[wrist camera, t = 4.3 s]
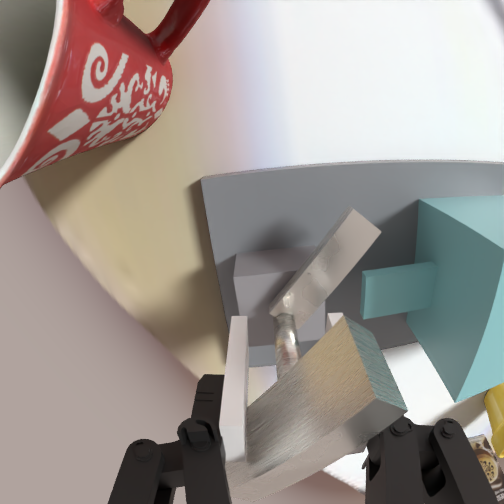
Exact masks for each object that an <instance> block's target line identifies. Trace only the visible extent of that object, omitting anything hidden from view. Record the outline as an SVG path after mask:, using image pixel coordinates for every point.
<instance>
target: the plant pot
mask: <svg viewBox="0 0 504 504" xmlns="http://www.w3.org/2000/svg"><path fill="white" fill-rule="evenodd" d="M484 403H485V407H486V410H487V413H488V417H489V421H490V424H491V429H492V433H493V436H492V438H491V442H492V445H493V447H494V450H495V452H496V454H497V456H498V457H499V458H504V382H503V383H501V384H499V385H497V386H495V387H493V388H490V389H489V391H488V392H487V394H486V396H485V398H484Z"/></svg>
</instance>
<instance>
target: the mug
mask: <svg viewBox="0 0 504 504" xmlns="http://www.w3.org/2000/svg"><path fill="white" fill-rule="evenodd" d="M209 1H210V0H174V2H173V4H172V6H171V7H170V9H169V11H168V13H167V14H166V16H165V17H164V19H163V20H162V22H161V23H160V24H159V26H158V27H157V28H156V29H155V30H154V31H152V32H151V33H149V34H145V33H143V32H142V31H141V30H140V29H139V28H138V27H137V26H136V25H135V24H133V23H132V22H131V21H130V20H129V19H128V18H126V17H125V16H124V15H123V13H124V6H123V0H0V188H1V187H2V186H3V185H4V184H6V183H8V182H10V181H13V180H15V179H17V178H19V177H22V176H24V175H26V174H29V173H32V172H34V171H36V170H38V169H41V168H43V167H45V166H48V165H51V164H53V163H55V162H58V161H60V160H62V159H65V158H68V157H71V156H73V155H76V154H79V153H82V152H85V151H88V150H91V149H94V148H97V147H100V146H103V145H106V144H110V143H113V142H116V141H121V140H124V139H128V138H131V137H133V136H135V135H137V134H139V133H141V132H143V131H144V130H146V129H147V128H148V127H150V126H151V125H152V124H153V123H154V122H155V121H156V120H157V118H158V117H159V116H160V115H161V113H162V111H163V110H164V109H165V107H166V104H167V102H168V100H169V97H170V94H171V89H172V83H173V75H172V68H171V65H170V62H169V60H168V58H169V57H170V55H171V54H172V52H173V51H174V50H175V49H176V48H177V47H178V45H179V44H180V43H181V42H182V41H183V39H184V38H185V37H186V35H187V34H188V32H189V31H190V30H191V28H192V27H193V26H194V24H195V23H196V21H197V20H198V19H199V17H200V16H201V14H202V13H203V11H204V9H205V8H206V6H207V5H208V3H209Z"/></svg>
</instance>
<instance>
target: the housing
mask: <svg viewBox="0 0 504 504" xmlns="http://www.w3.org/2000/svg"><path fill="white" fill-rule="evenodd" d="M201 185H202V191H203V197H204V203H205V209H206V215H207V221H208V227H209V232H210V238H211V244H212V249H213V254H214V260H215V265H216V270H217V276H218V281H219V286H220V291H221V296H222V301H223V306H224V311H225V316H226V321H227V326H228V331H229V334H230V326H231V318H232V316H247V324H248V347H249V367H260V366H271V365H276V353H275V340H274V327H273V315H271V314H269V305H270V303H271V302H272V301H273V300H274V299H275V297H276V296H277V295H278V294H279V293H280V291H281V290H282V289H283V288H284V287H285V285H286V284H287V283H288V282H289V280H290V279H291V278H292V277H293V276H294V274H295V273H296V272H297V271H298V269H299V268H300V267H301V266H302V264H303V263H304V262H305V261H306V259H307V258H308V257H309V256H310V254H311V253H312V252H313V251H314V249H315V248H316V247H317V246H318V244H319V243H320V242H321V240H322V239H323V238H324V237H325V235H326V234H327V233H328V232H329V230H330V229H331V228H332V226H333V225H334V224H335V222H336V221H337V220H338V219H339V217H340V216H341V215H342V213H343V212H344V211H345V209H346V208H347V207H348V205H350V206H351V207H352V208H353V209H355V210H356V211H357V212H358V213H360V214H361V215H362V216H363V217H365V218H366V219H367V220H368V221H370V222H371V223H372V224H373V225H374V226H376V227H377V228H378V229H379V230H380V231H381V233H380V235H379V236H378V237H377V239H376V240H375V241H374V242H373V244H372V245H371V246H370V247H369V249H368V250H367V251H366V252H365V254H364V255H363V256H362V257H361V258H360V260H359V261H358V262H357V263H356V265H355V266H354V267H353V268H352V269H351V271H350V272H349V273H348V274H347V275H346V276H345V278H344V279H343V280H342V281H341V282H340V284H339V285H338V286H337V287H336V288H335V289H334V290H333V292H332V293H331V294H330V295H329V296H328V297H327V298H326V300H325V301H324V302H323V303H322V304H321V305H320V306H319V307H318V309H317V310H316V311H315V312H314V313H313V314H312V315H311V316H310V317H309V319H308V320H307V321H306V322H305V323H304V324H303V325H302V326H301V327H300V328H299V329H297V334H298V340H299V346H300V351H301V357H303V356H304V355H305V354H306V353H307V352H308V351H309V350H310V349H311V348H312V347H313V346H314V345H315V344H316V343H317V342H318V341H319V340H320V339H321V338H322V337H323V336H324V335H325V331H326V323H327V315H328V313H341V312H342V313H343V315H344V316H346V317H348V318H349V319H351V320H353V321H354V322H356V323H357V324H359V325H361V326H362V327H364V328H366V329H367V330H369V331H370V332H372V333H373V335H374V337H375V339H376V342H377V344H378V346H379V348H380V350H382V349H387V348H392V347H397V346H401V345H406V344H410V343H415V342H419V341H418V340H417V338H416V337H415V335H414V334H413V332H412V330H411V329H410V327H409V326H408V324H407V323H406V320H407V314H408V312H403V313H398V314H392V315H387V316H381V317H375V318H369V319H363V318H362V316H361V314H360V304H361V287H362V271H366V270H374V269H381V268H388V267H396V266H403V265H410V264H414V263H415V253H416V241H417V227H418V206H419V199H426V198H444V197H465V196H493V195H504V162H490V161H468V160H379V161H355V162H337V163H322V164H309V165H298V166H287V167H277V168H267V169H258V170H250V171H241V172H233V173H226V174H219V175H212V176H205V177H203V178H202V179H201Z"/></svg>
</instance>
